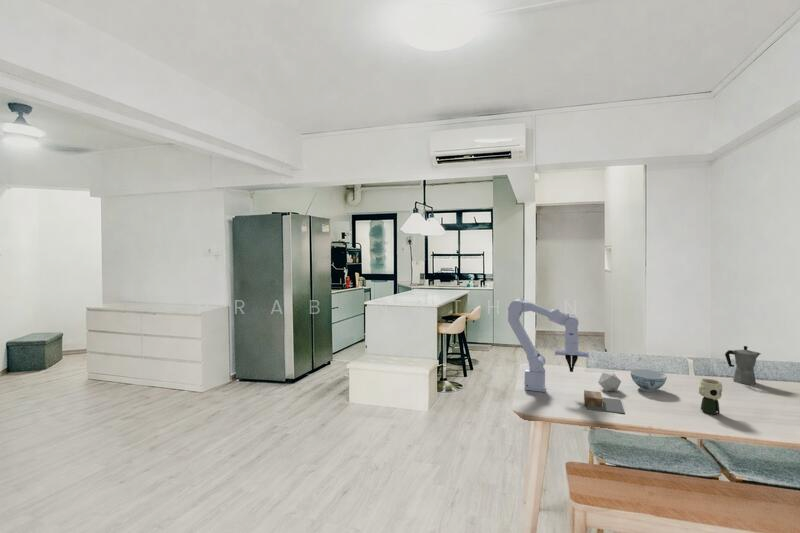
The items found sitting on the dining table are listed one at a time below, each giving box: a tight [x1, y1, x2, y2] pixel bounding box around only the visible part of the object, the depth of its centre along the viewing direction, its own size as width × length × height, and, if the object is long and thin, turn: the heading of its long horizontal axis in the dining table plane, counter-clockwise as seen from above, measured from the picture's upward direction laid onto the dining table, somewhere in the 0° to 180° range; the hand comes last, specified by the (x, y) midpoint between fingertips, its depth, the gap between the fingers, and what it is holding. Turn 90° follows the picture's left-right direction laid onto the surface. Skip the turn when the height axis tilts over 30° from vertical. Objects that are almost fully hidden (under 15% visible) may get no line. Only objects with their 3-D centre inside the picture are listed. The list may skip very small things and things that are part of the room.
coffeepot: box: [724, 345, 761, 386], centre depth 212 cm, size 15×9×18 cm, turn 79°
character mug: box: [698, 378, 723, 415], centre depth 174 cm, size 11×7×13 cm, turn 101°
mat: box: [586, 396, 625, 415], centre depth 184 cm, size 14×16×1 cm
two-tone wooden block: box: [583, 389, 604, 407], centre depth 185 cm, size 4×9×7 cm
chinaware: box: [629, 368, 668, 393], centre depth 202 cm, size 15×15×8 cm
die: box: [597, 372, 622, 392], centre depth 202 cm, size 8×9×10 cm
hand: (571, 371), depth 197 cm, fingers closed
